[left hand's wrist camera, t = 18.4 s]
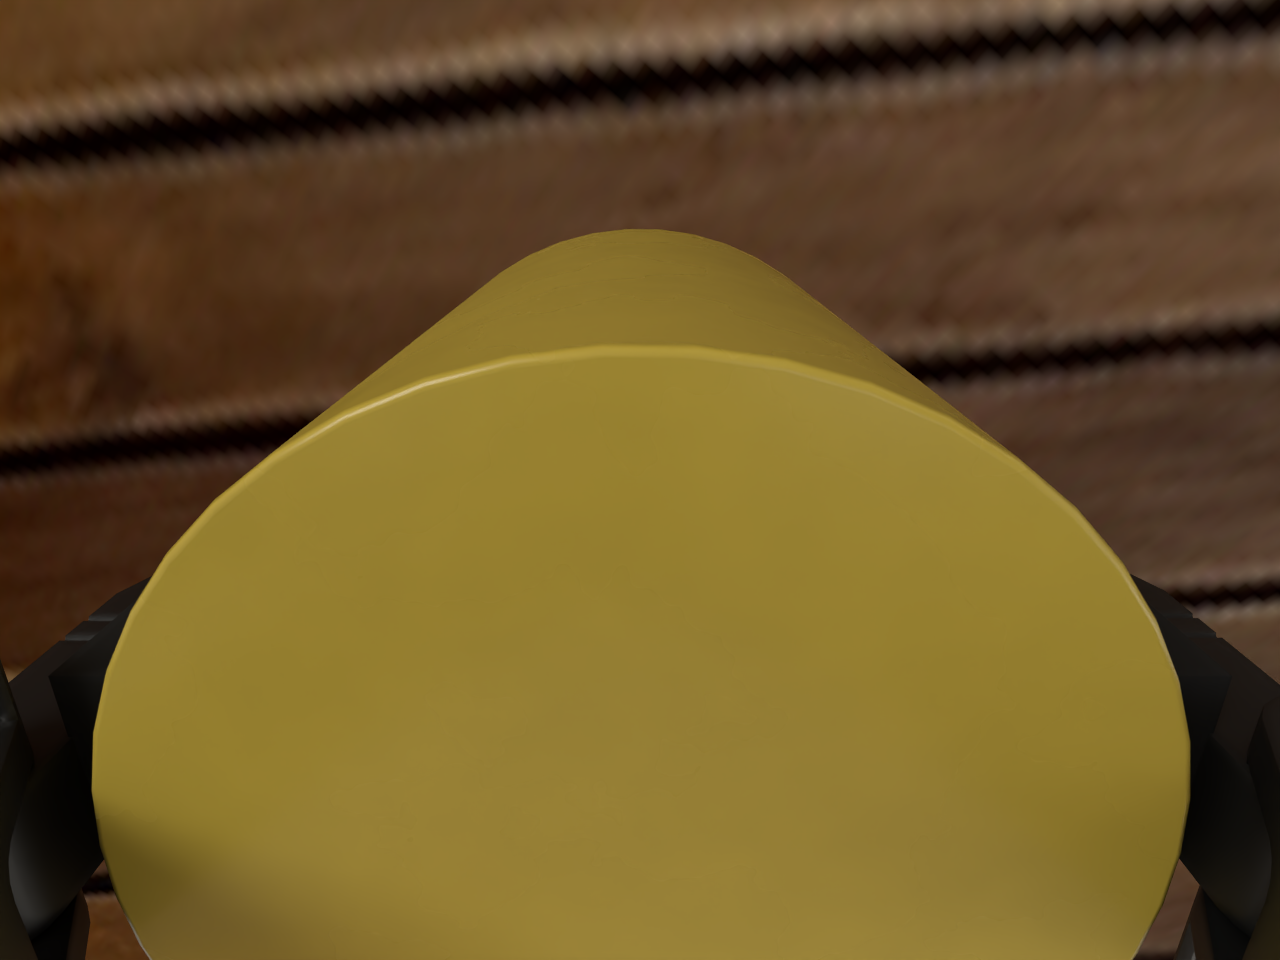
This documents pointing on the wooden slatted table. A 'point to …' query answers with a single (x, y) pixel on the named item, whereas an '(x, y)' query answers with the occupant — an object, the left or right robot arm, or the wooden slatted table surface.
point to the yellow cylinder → (641, 658)
